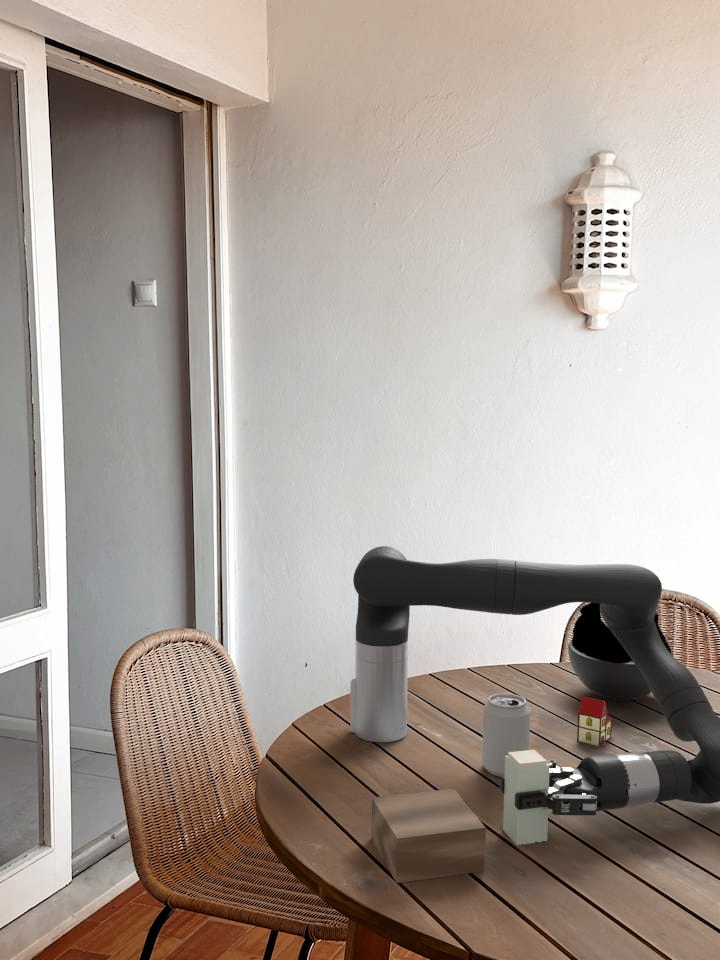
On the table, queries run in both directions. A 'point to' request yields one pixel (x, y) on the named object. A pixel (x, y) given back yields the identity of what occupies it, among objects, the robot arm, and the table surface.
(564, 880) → the table surface
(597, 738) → the toy house
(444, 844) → the walnut block
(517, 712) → the can
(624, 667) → the coal bowl
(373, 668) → the robot arm
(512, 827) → the sage tin
